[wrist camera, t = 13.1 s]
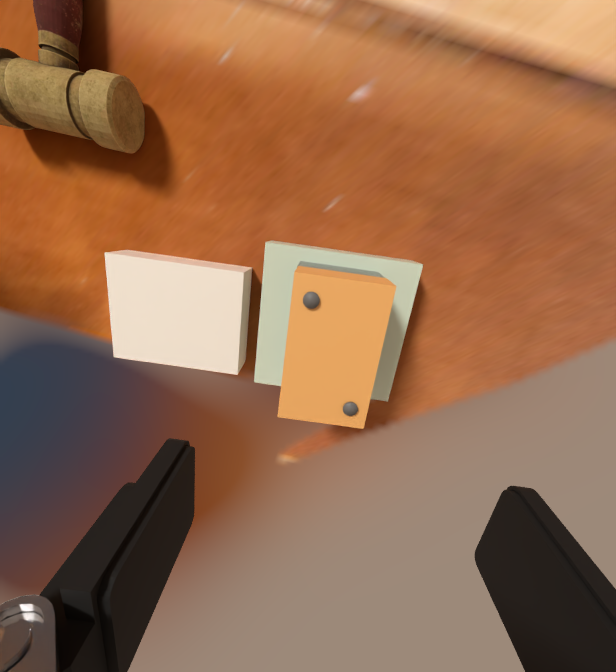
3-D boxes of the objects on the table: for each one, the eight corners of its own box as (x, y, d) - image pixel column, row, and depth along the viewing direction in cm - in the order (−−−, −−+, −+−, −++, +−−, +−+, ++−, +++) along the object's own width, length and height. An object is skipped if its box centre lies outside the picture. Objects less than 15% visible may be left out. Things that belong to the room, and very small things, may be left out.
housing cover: (298, 265, 21) (294, 272, 18) (386, 278, 21) (397, 286, 18) (282, 394, 24) (277, 418, 21) (358, 405, 24) (363, 430, 21)
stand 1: (133, 344, 30) (113, 357, 27) (127, 249, 27) (104, 252, 24) (245, 360, 30) (237, 374, 27) (252, 267, 27) (244, 272, 24)
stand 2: (260, 367, 30) (253, 382, 27) (271, 240, 26) (265, 242, 23) (381, 385, 30) (387, 401, 27) (412, 260, 26) (423, 264, 23)
